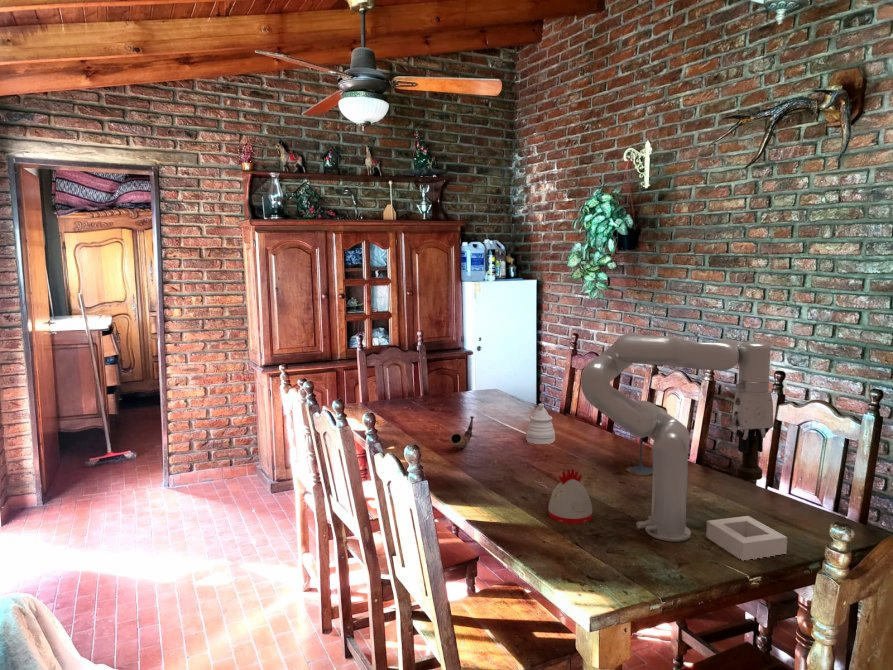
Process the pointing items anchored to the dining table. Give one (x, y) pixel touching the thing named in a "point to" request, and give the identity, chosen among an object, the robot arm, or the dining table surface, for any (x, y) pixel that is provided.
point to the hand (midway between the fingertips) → (750, 450)
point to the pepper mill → (750, 460)
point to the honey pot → (540, 427)
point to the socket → (746, 537)
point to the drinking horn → (462, 441)
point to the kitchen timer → (570, 500)
